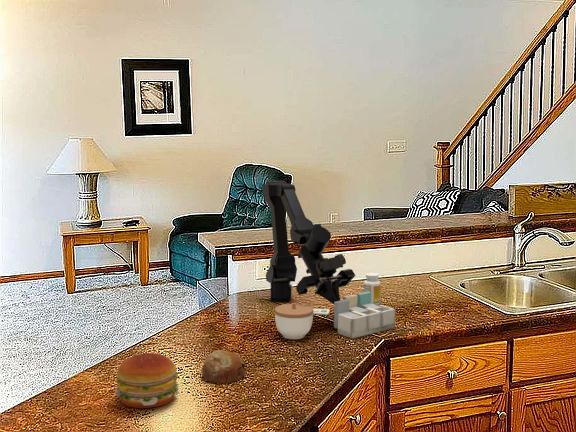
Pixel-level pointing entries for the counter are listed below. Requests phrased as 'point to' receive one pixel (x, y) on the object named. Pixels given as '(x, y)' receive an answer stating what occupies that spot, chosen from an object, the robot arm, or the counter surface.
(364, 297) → the button teal
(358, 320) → the gray divided box
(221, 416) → the counter surface
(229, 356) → the bread roll
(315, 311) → the card
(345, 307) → the drawer slate
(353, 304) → the button tan
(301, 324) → the lidded jar
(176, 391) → the burger
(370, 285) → the supplement bottle
